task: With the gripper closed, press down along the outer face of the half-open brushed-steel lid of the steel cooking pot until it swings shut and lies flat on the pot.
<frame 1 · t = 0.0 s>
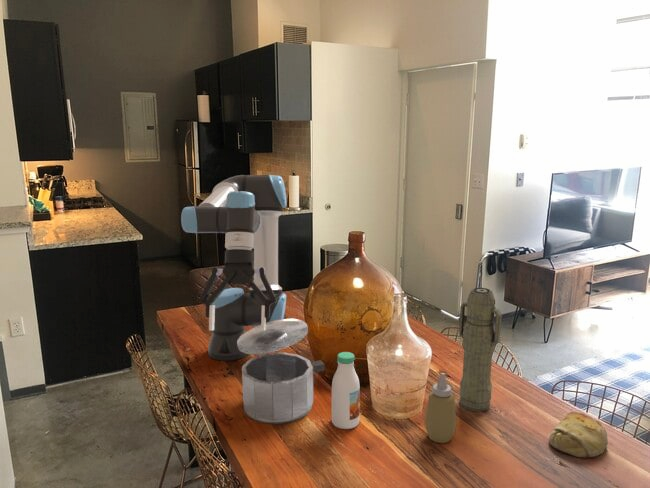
hand: (237, 330, 135), 28 cm above the table, tool tilted 20°, fingers open, 13 cm apart
pot: (278, 405, 152), on the table
squeeze bottle: (439, 437, 136), on the table
lid: (272, 334, 152), point 20 cm above the table, hinge at 45.0°
pastry: (577, 446, 132), on the table
milk bottle: (345, 422, 143), on the table
thermos: (474, 404, 152), on the table
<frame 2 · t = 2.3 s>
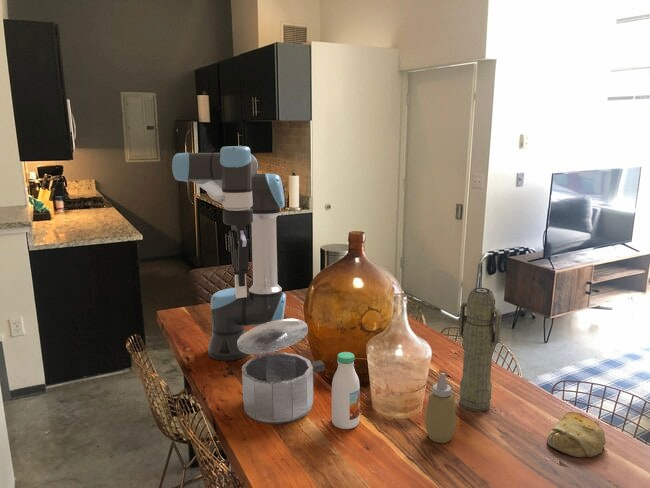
hand: (241, 296, 136), 36 cm above the table, tool pointing down, fingers closed
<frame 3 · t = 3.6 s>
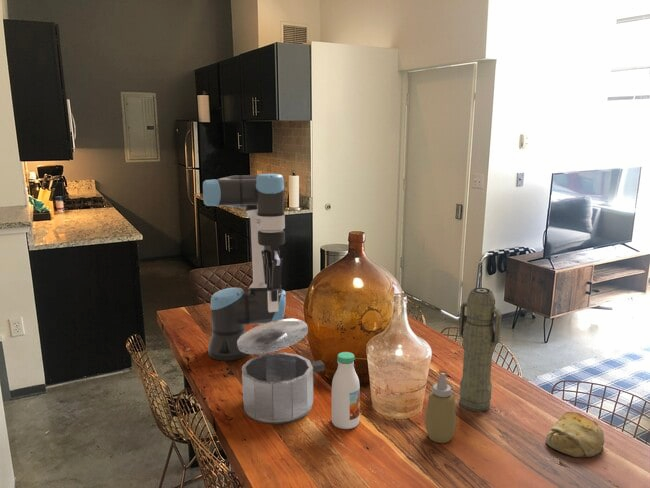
hand: (273, 310, 148), 28 cm above the table, tool pointing down, fingers closed
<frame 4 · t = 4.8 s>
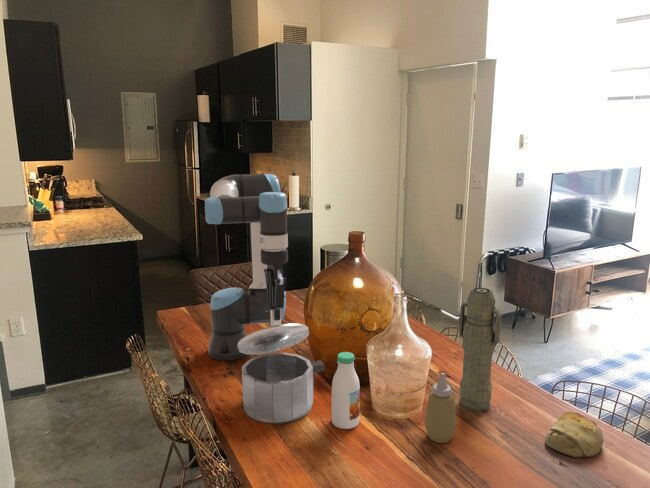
hand: (276, 329, 147), 24 cm above the table, tool pointing down, fingers closed
lid: (272, 336, 151), point 20 cm above the table, hinge at 40.8°, touching gripper
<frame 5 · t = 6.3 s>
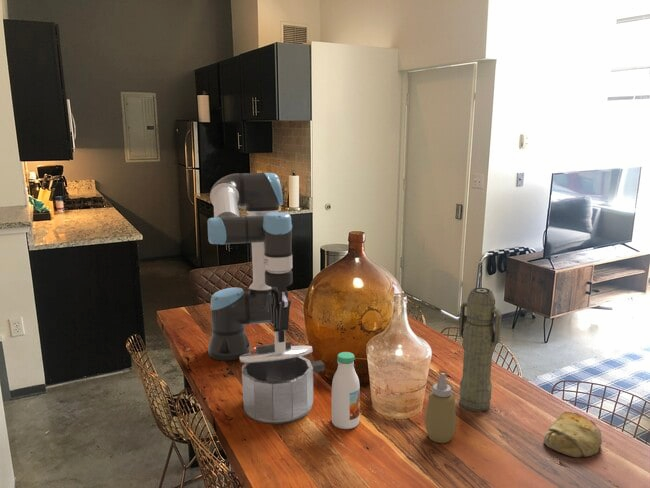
hand: (280, 351, 145), 18 cm above the table, tool pointing down, fingers closed
lid: (275, 350, 150), point 17 cm above the table, hinge at 18.0°, touching gripper
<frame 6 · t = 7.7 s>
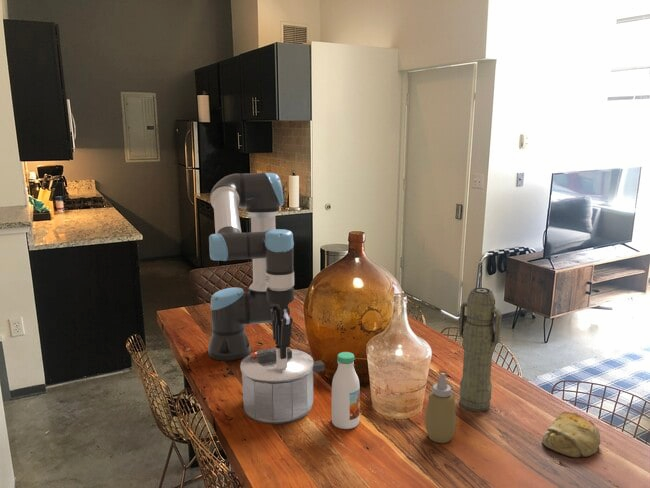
hand: (282, 367, 145), 14 cm above the table, tool pointing down, fingers closed
lid: (276, 360, 149), point 14 cm above the table, hinge at 1.2°
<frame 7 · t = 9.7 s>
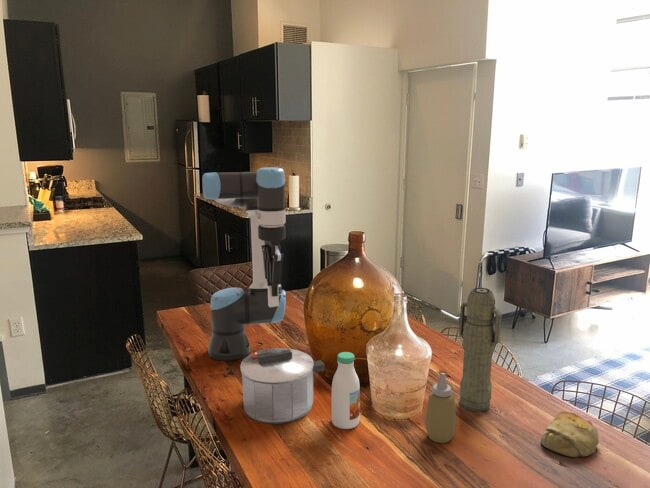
hand: (273, 305, 147), 30 cm above the table, tool pointing down, fingers closed
lid: (276, 361, 149), point 14 cm above the table, hinge at 0.0°
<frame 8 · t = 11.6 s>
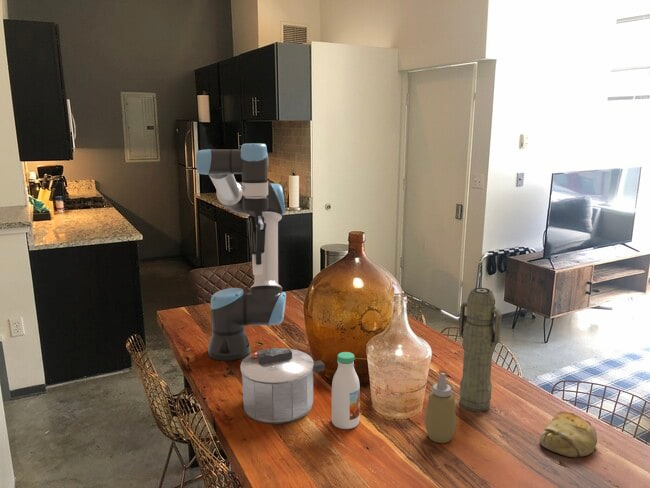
hand: (257, 274, 157), 36 cm above the table, tool pointing down, fingers closed
at the end: lid at +0° (first picture: +45°); milk bottle moved 0.2 cm from its start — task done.
